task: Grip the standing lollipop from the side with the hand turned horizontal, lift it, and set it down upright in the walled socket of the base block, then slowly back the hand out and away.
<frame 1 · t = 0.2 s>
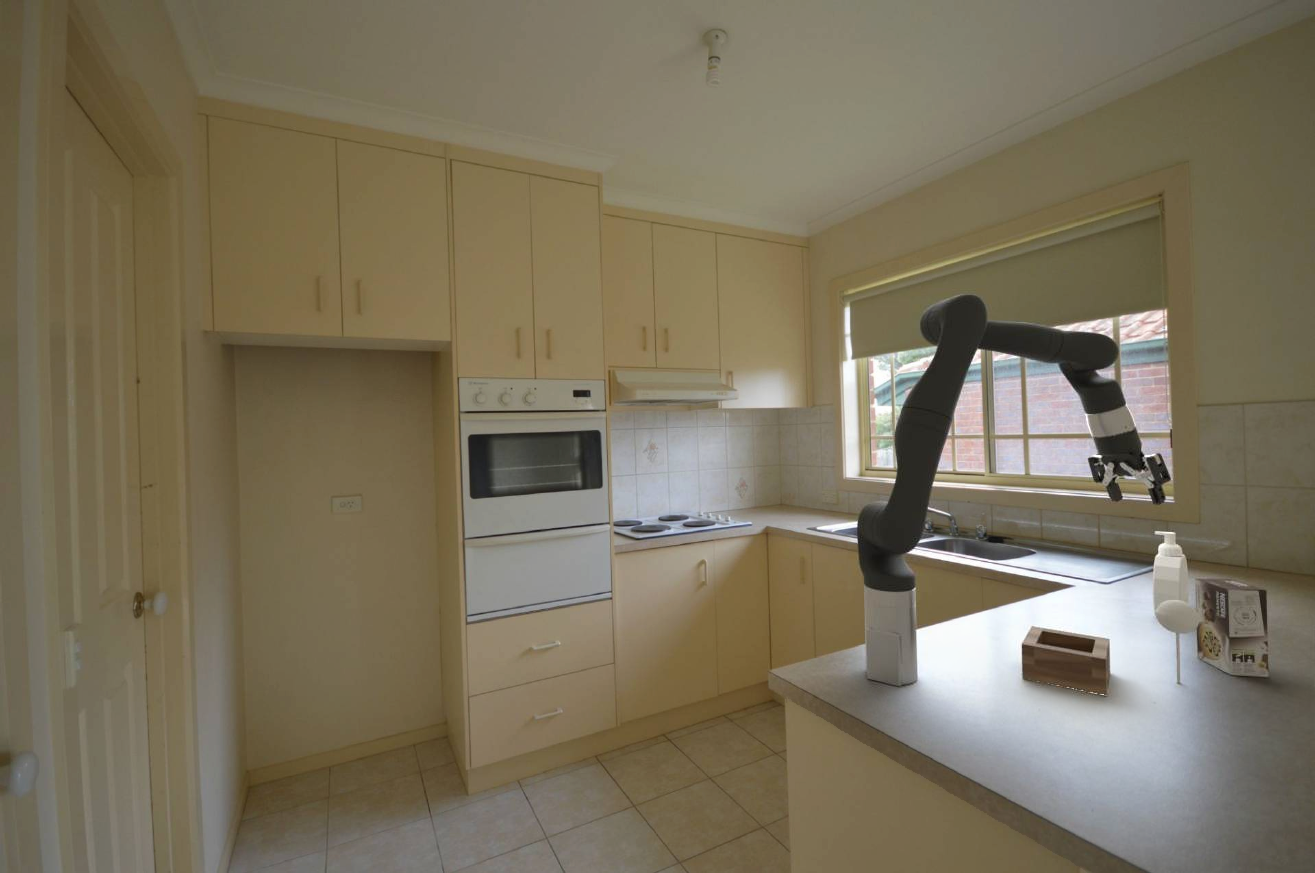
hand: (1138, 501, 121), 31 cm above the counter, tool tilted 20°, fingers open, 8 cm apart
soap bottle: (1170, 613, 145), on the counter
coffee box: (1231, 668, 112), on the counter
lollipop: (1178, 684, 106), on the counter
base: (1066, 675, 110), on the counter
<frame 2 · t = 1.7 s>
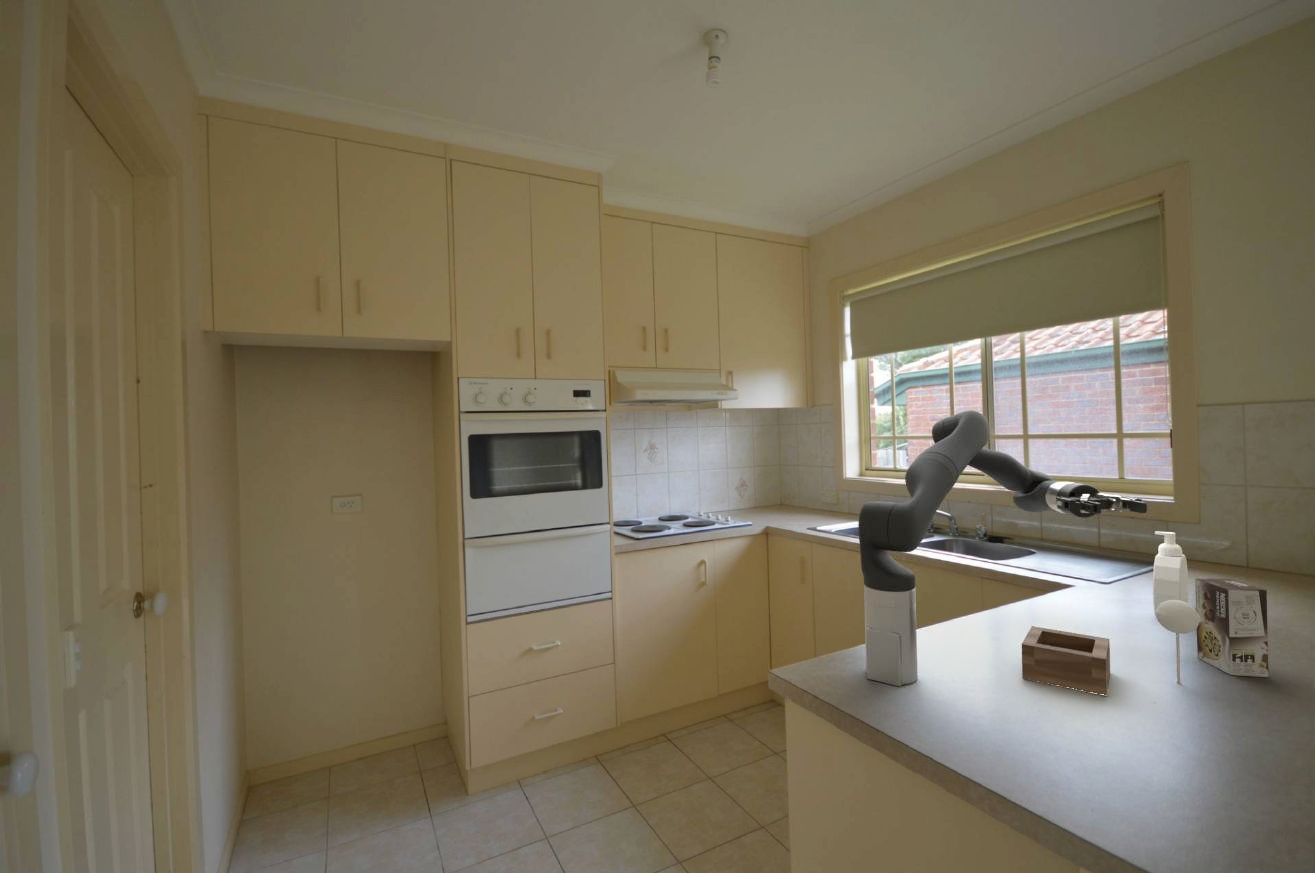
hand: (1122, 508, 118), 30 cm above the counter, tool horizontal, fingers open, 8 cm apart
nothing on the counter moved.
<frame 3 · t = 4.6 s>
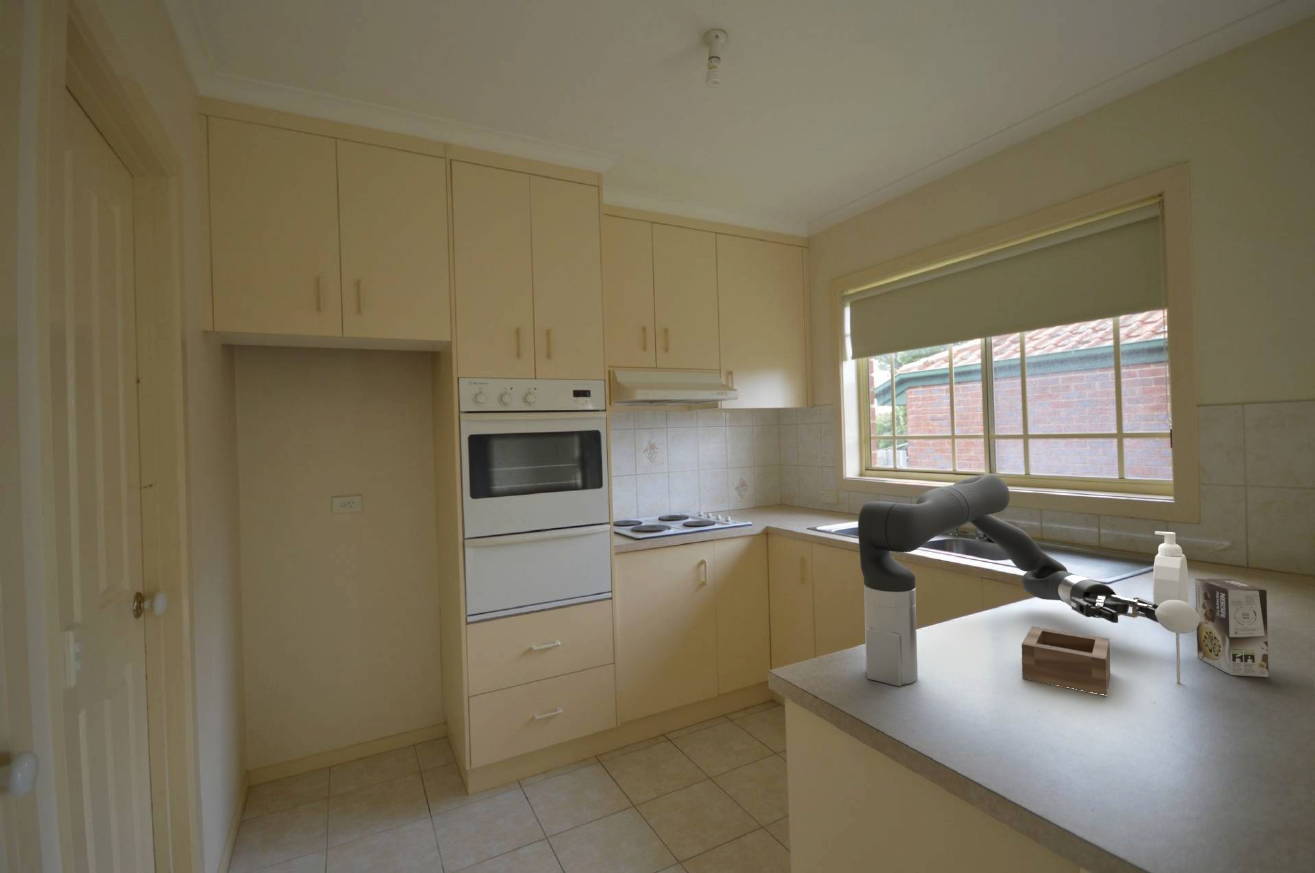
hand: (1139, 618, 115), 9 cm above the counter, tool horizontal, fingers open, 8 cm apart
nothing on the counter moved.
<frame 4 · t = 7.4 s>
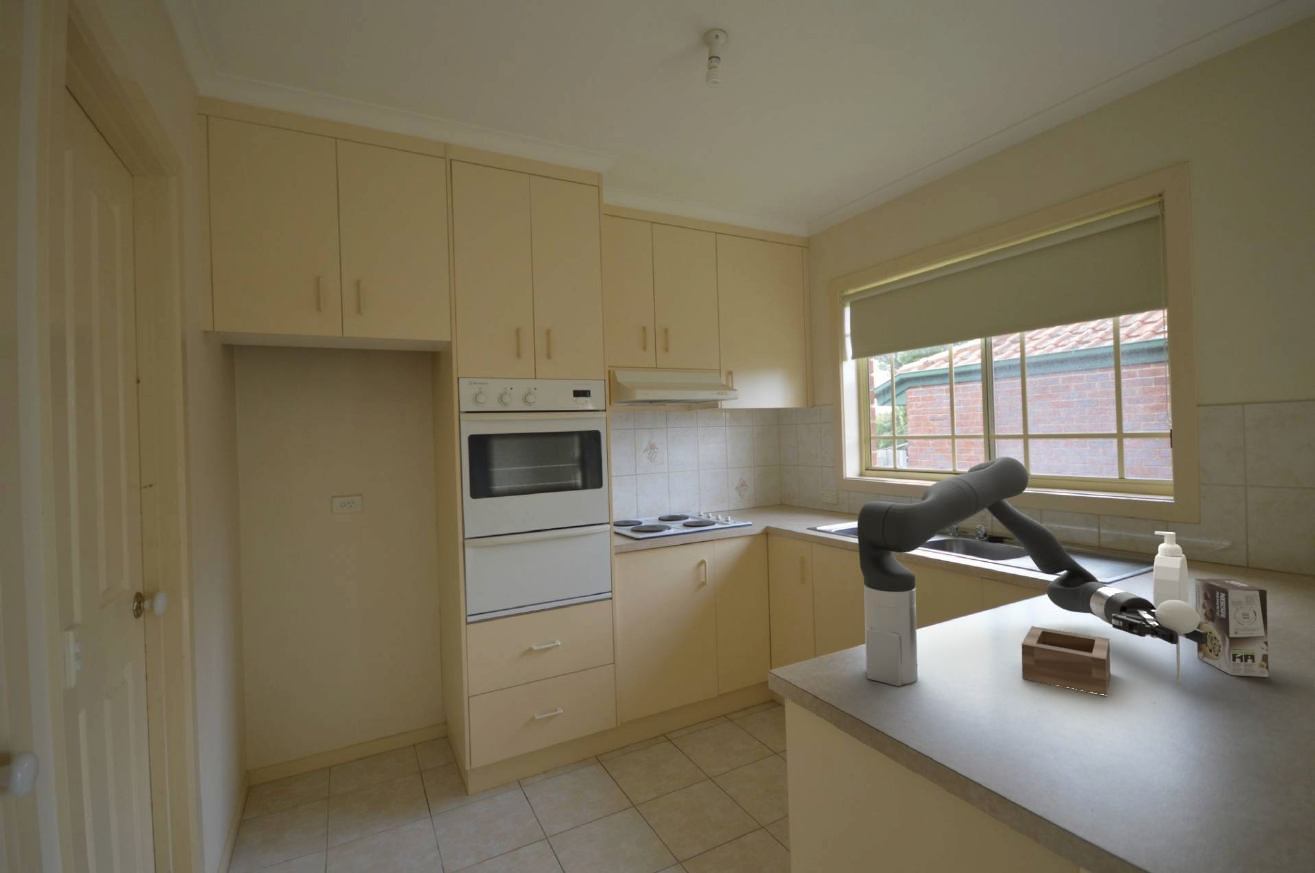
hand: (1190, 638, 103), 9 cm above the counter, tool horizontal, fingers closed on lollipop, 4 cm apart
lollipop: (1178, 684, 106), on the counter, touching gripper
everything else where it was.
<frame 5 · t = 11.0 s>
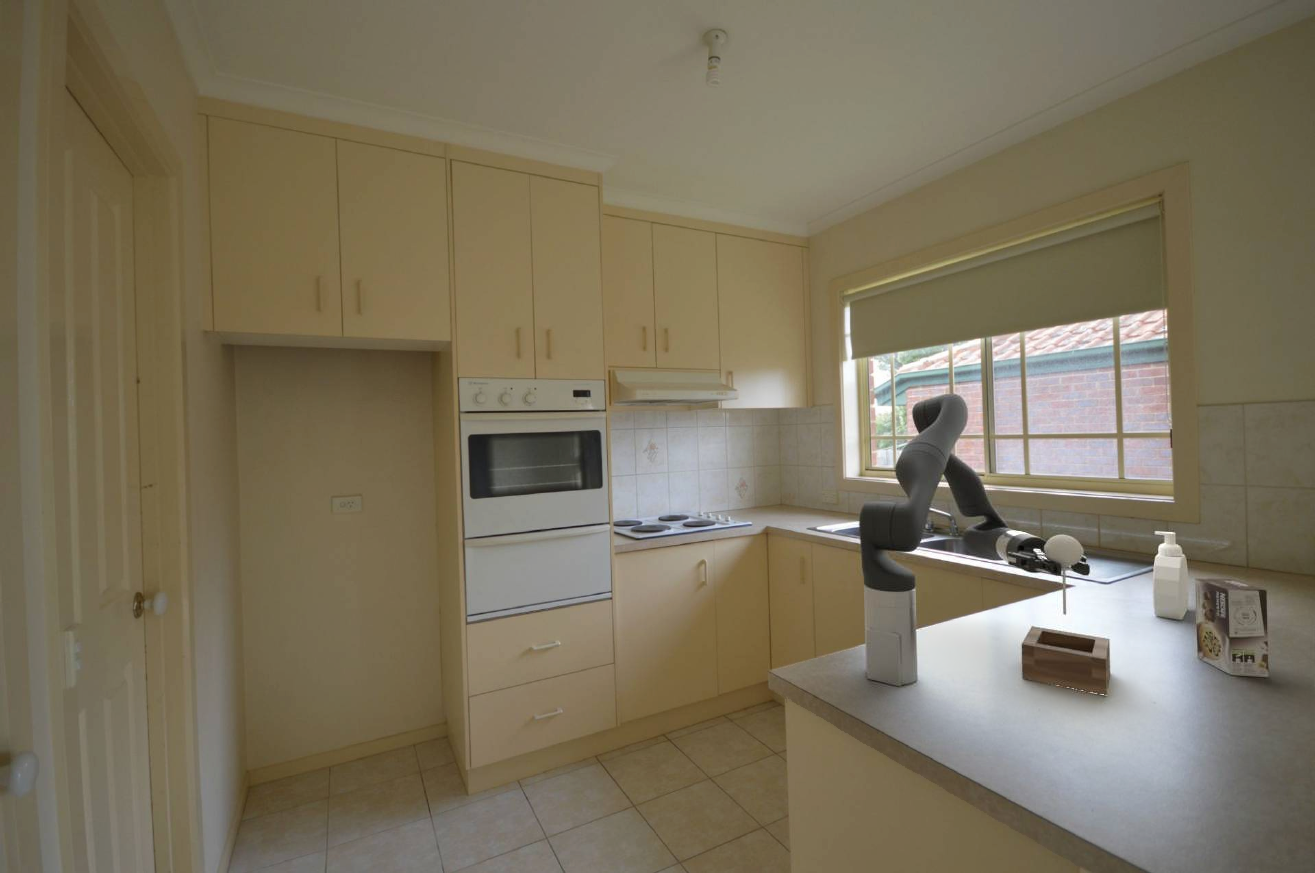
hand: (1073, 570, 107), 21 cm above the counter, tool horizontal, fingers closed on lollipop, 4 cm apart
lollipop: (1064, 615, 110), point 11 cm above the counter, touching gripper
everything else where it was.
when the fingers open (12 cm above the counter, at t = 15.0 s): lollipop stays where it is, resting on base.
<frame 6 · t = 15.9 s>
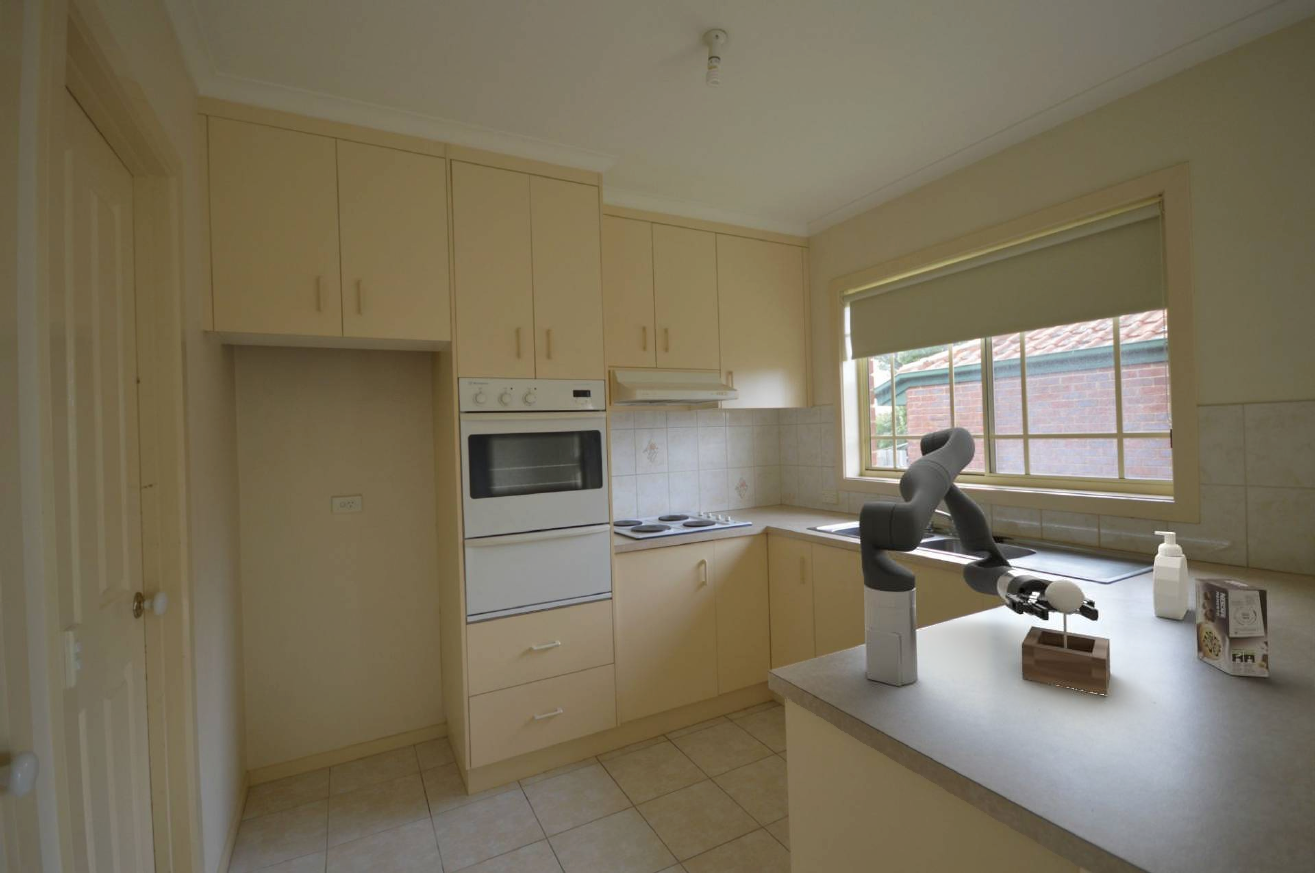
hand: (1071, 615, 108), 12 cm above the counter, tool horizontal, fingers open, 8 cm apart
lollipop: (1065, 660, 110), point 3 cm above the counter, touching base
everything else where it was.
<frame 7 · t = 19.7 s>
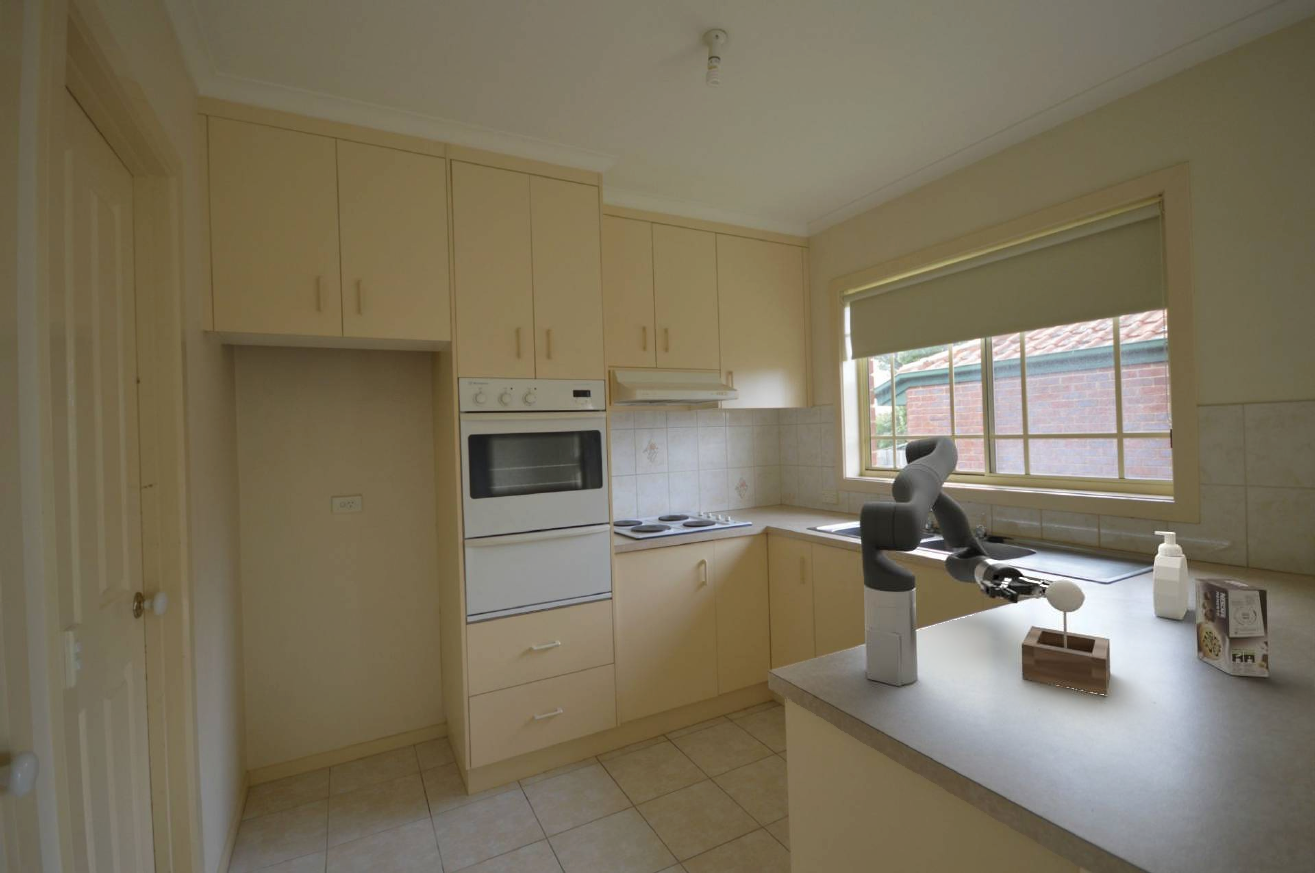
hand: (1038, 598, 119), 12 cm above the counter, tool horizontal, fingers open, 8 cm apart
nothing on the counter moved.
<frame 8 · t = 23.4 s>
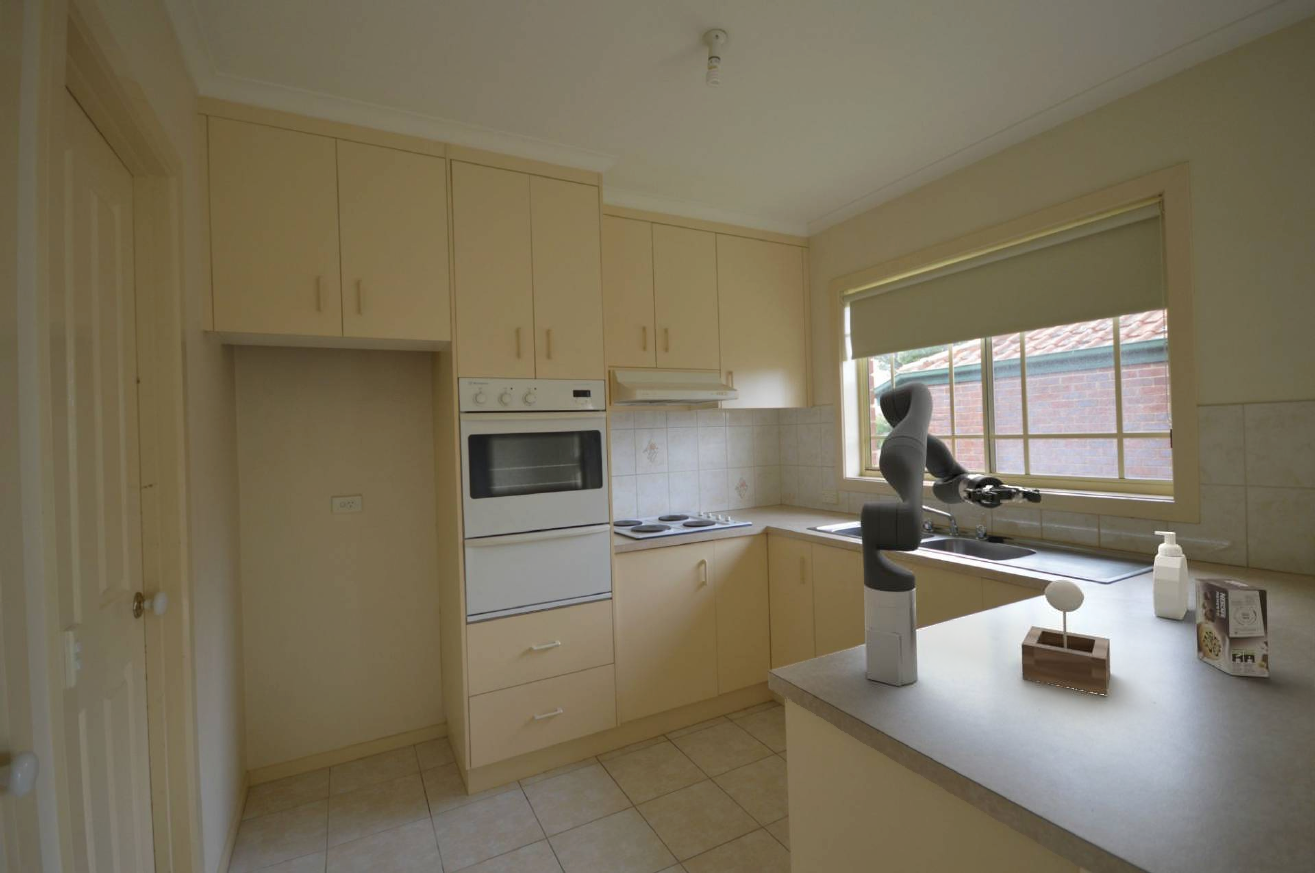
hand: (1017, 498, 123), 32 cm above the counter, tool horizontal, fingers open, 8 cm apart
nothing on the counter moved.
at the end: lollipop 0.2 cm off-centre on the base, point 2.8 cm above the base's base; lollipop tilted 1°; the gripper is holding nothing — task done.
